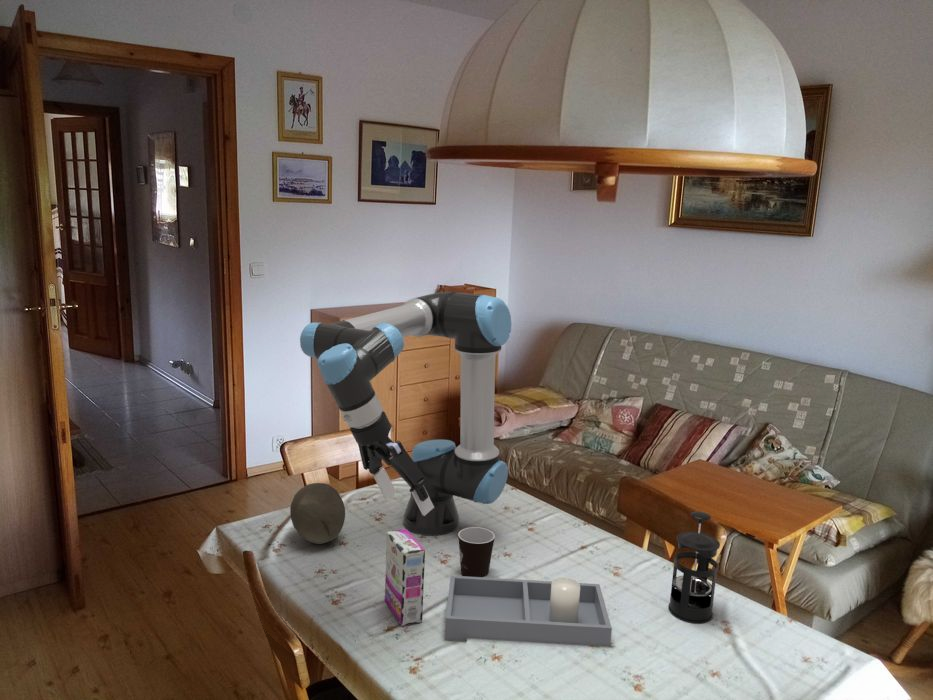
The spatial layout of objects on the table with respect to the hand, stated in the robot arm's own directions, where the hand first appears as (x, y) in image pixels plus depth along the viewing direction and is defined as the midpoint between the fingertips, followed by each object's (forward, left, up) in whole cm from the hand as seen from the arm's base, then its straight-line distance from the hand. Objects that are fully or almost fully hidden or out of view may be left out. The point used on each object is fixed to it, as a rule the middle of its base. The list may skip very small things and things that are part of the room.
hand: (409, 503), depth 147 cm
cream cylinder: (+1, +33, -24) cm, 41 cm away
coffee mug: (-19, +14, -25) cm, 35 cm away
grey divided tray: (+1, +25, -25) cm, 35 cm away
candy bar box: (0, -1, -25) cm, 25 cm away
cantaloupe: (-30, -27, -25) cm, 48 cm away
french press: (-7, +62, -25) cm, 68 cm away
